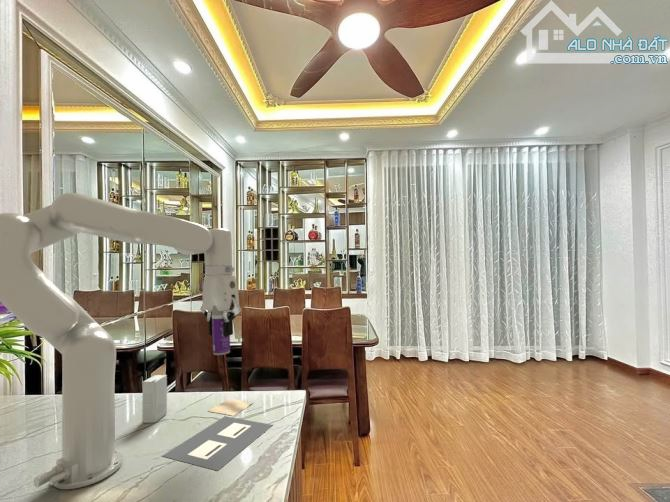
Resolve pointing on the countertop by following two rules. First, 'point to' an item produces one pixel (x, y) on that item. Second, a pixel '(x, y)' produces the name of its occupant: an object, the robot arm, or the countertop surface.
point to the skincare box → (154, 398)
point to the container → (219, 333)
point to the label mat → (218, 442)
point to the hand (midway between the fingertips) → (221, 334)
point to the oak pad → (230, 407)
